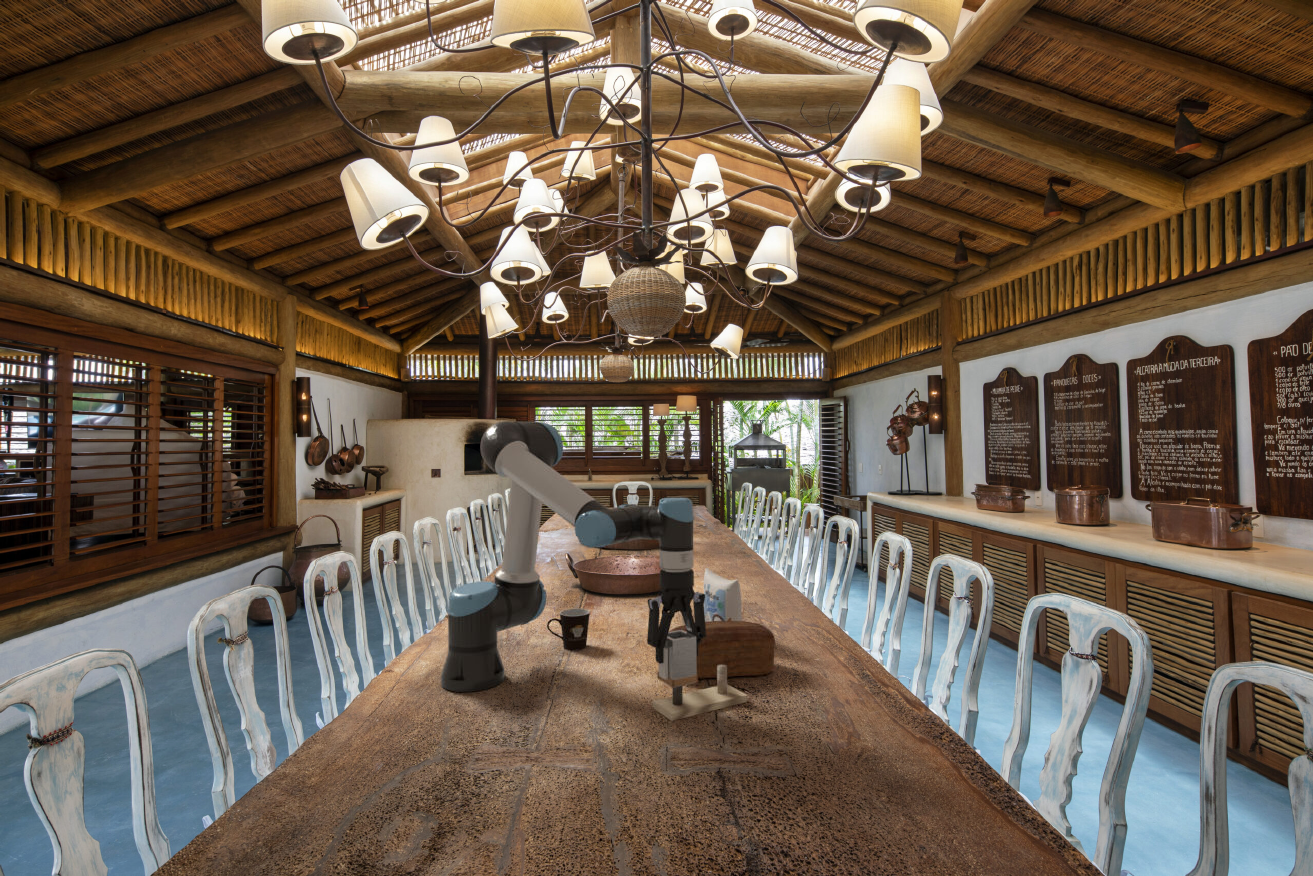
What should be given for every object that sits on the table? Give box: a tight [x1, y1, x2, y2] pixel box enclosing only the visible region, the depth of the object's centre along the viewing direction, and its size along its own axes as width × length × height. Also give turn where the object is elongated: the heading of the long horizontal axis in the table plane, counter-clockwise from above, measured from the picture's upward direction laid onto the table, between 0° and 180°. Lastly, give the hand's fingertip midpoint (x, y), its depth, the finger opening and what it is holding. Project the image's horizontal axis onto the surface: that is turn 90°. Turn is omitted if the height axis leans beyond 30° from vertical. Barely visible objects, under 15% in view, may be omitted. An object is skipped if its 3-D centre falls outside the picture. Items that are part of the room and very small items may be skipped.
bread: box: [669, 620, 776, 680], centre depth 167 cm, size 14×28×12 cm, turn 99°
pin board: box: [652, 665, 748, 722], centre depth 146 cm, size 20×8×8 cm, turn 120°
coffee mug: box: [546, 608, 591, 652], centre depth 188 cm, size 12×9×10 cm
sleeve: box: [657, 630, 699, 689], centre depth 143 cm, size 6×6×10 cm
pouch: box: [703, 567, 743, 622], centre depth 193 cm, size 8×19×20 cm, turn 20°
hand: (677, 674), depth 143 cm, fingers closed on sleeve, 6 cm apart
